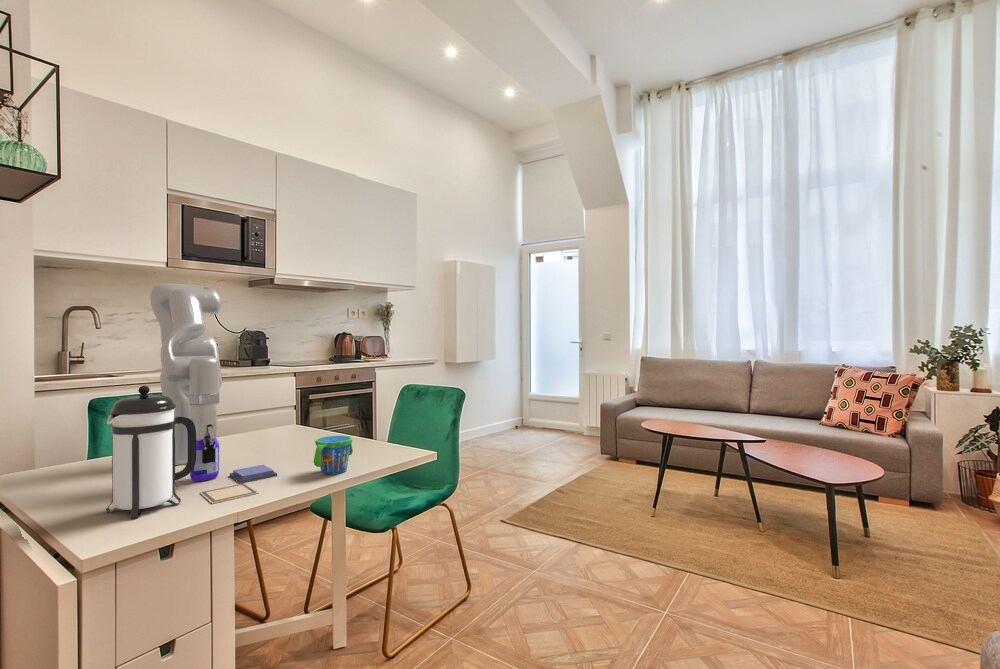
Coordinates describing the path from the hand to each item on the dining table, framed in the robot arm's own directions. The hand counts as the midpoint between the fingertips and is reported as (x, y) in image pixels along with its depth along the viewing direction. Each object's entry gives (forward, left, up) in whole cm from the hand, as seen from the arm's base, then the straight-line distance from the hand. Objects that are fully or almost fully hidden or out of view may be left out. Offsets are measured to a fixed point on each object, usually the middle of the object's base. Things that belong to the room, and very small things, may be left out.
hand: (204, 459), depth 140 cm
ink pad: (+7, +11, -6) cm, 14 cm away
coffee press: (+15, -16, -6) cm, 23 cm away
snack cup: (+20, +30, -6) cm, 37 cm away
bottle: (0, 0, -6) cm, 6 cm away
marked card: (+19, +1, -6) cm, 20 cm away
